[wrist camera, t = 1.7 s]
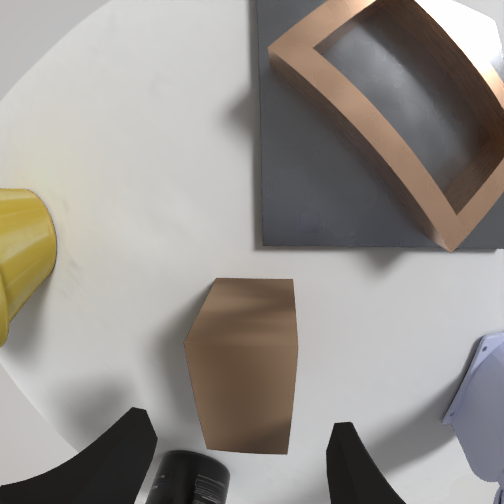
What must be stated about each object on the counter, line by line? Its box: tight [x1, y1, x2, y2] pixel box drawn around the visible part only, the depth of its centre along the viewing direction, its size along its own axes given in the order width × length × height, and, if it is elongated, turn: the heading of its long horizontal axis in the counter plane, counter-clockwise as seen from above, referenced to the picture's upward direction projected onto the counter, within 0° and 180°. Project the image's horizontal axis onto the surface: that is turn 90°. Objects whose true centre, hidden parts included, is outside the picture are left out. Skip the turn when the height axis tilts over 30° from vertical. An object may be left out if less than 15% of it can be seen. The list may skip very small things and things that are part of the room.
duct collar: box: [257, 0, 504, 253], centre depth 10 cm, size 15×15×3 cm
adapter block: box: [184, 278, 298, 454], centre depth 14 cm, size 4×7×6 cm, turn 1°
